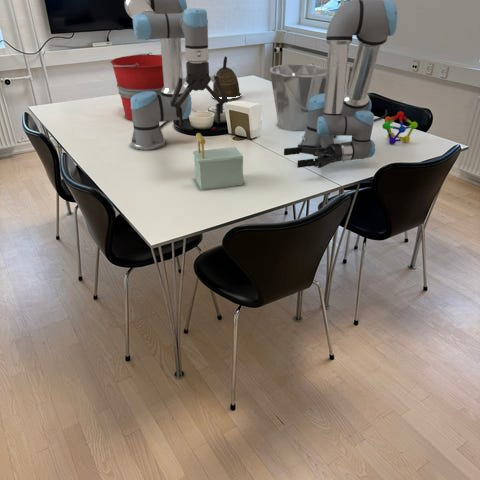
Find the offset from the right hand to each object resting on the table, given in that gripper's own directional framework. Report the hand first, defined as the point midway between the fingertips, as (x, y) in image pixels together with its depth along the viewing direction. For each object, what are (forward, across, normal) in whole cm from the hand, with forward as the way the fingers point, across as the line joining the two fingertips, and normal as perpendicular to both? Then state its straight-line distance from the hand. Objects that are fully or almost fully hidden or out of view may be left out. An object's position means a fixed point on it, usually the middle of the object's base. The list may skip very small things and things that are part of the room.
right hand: (290, 157), depth 176 cm
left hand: (+36, +1, +16) cm, 40 cm away
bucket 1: (+44, +98, -6) cm, 108 cm away
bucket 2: (-28, +58, -7) cm, 65 cm away
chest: (+30, +1, -7) cm, 30 cm away
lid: (+30, +1, +4) cm, 30 cm away
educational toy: (-63, +19, -7) cm, 66 cm away
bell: (-9, +124, -6) cm, 124 cm away
